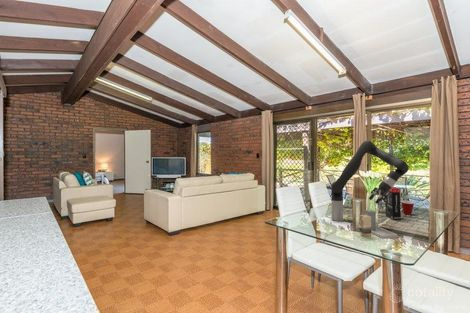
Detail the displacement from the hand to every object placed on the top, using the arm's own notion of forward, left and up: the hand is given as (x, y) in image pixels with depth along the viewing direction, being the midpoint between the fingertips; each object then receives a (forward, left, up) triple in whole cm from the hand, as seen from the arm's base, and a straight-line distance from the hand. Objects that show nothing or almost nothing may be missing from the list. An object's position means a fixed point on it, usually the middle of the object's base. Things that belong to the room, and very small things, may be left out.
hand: (372, 201), depth 186 cm
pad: (-7, -18, -22) cm, 29 cm away
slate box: (-2, 0, -21) cm, 21 cm away
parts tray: (+1, -6, -22) cm, 23 cm away
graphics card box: (+20, +46, -23) cm, 55 cm away
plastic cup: (+35, +64, -22) cm, 77 cm away
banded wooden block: (-7, -18, -21) cm, 28 cm away
